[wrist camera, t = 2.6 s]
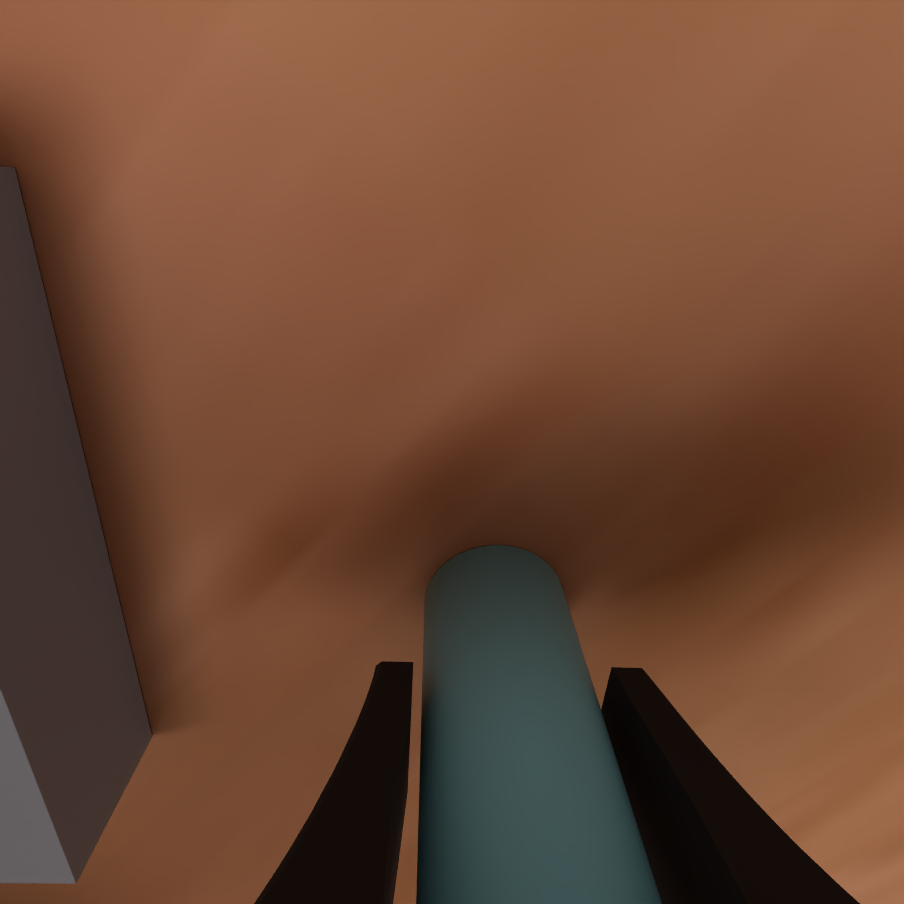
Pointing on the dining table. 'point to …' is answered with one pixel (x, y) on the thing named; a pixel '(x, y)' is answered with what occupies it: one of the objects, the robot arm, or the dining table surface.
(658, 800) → the robot arm
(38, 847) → the socket
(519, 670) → the peg
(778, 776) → the dining table surface
